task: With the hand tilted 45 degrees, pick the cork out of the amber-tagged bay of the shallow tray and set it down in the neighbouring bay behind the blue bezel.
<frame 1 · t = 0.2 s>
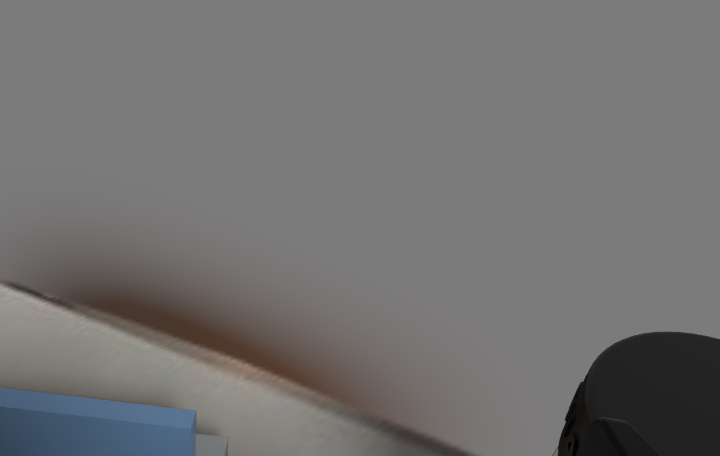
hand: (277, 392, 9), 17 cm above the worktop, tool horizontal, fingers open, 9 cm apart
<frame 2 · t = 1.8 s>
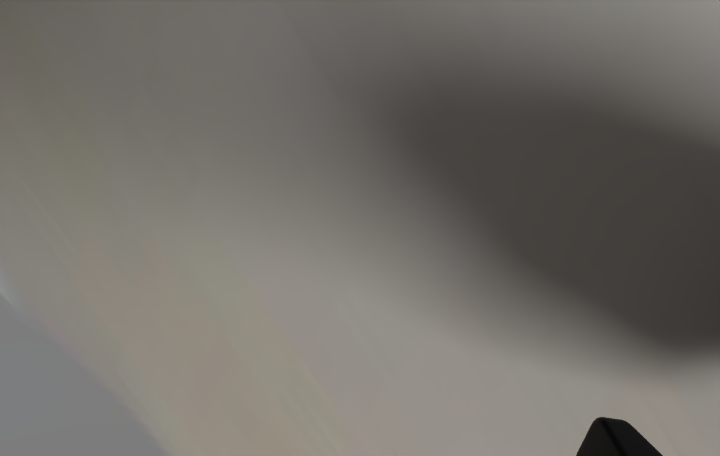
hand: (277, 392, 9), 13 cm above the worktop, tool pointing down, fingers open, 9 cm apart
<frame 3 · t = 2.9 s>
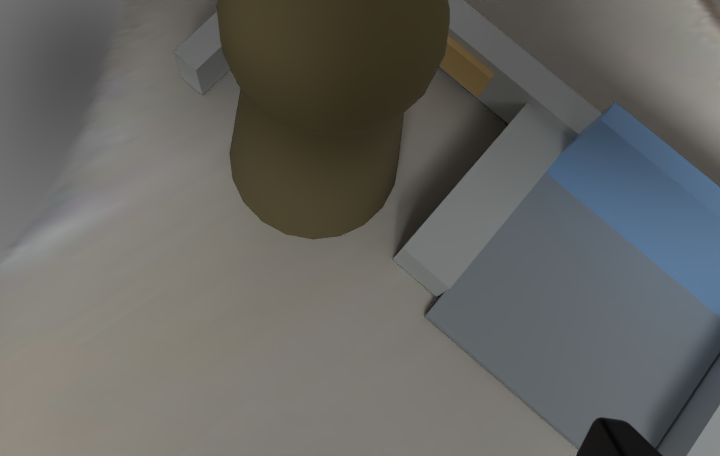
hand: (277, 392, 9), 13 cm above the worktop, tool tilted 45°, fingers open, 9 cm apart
shallow tray: (449, 236, 24), on the worktop
cork: (314, 158, 24), on the worktop
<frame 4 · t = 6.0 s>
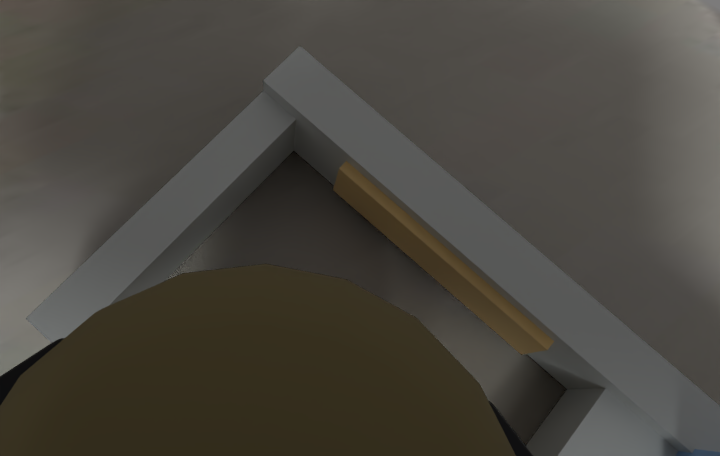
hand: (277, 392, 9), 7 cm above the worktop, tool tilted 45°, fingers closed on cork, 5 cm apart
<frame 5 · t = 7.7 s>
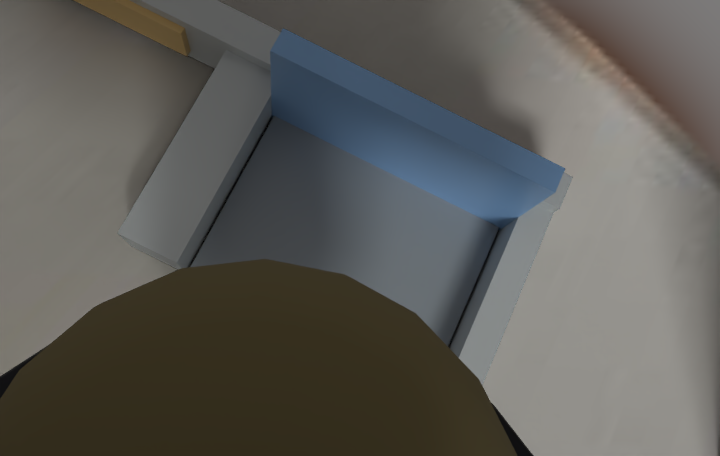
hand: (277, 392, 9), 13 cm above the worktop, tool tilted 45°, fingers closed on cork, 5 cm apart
shallow tray: (188, 207, 23), on the worktop
cork: (263, 453, 15), point 6 cm above the worktop, touching gripper
when the fingers open (8 cm above the worktop, at t = 9.7 s): cork stays where it is, resting on shallow tray.
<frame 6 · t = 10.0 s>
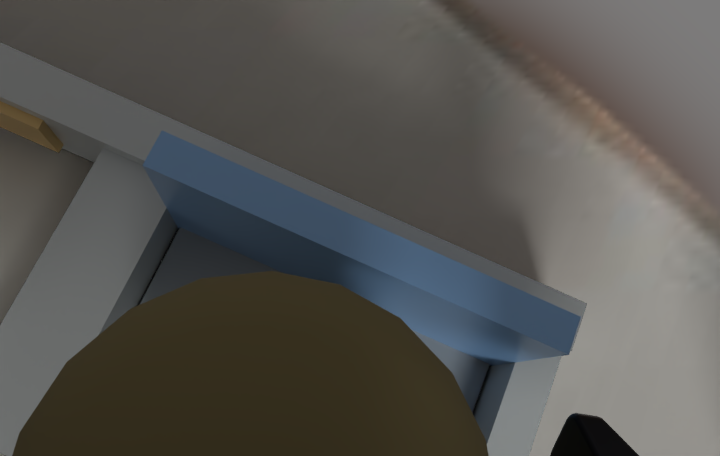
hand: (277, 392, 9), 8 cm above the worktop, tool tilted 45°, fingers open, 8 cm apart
shallow tray: (62, 362, 17), on the worktop
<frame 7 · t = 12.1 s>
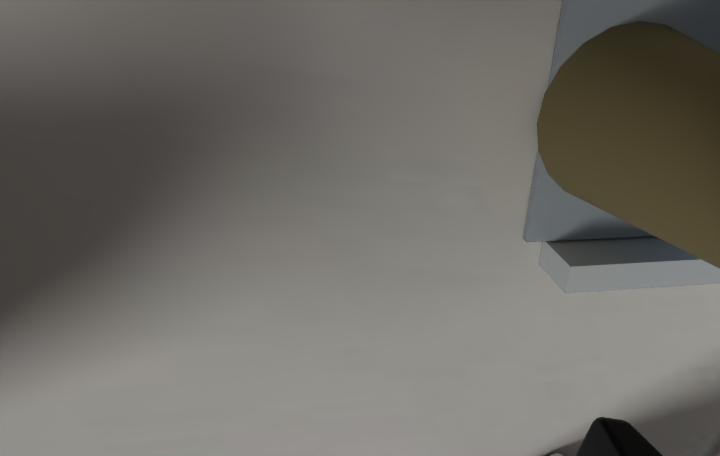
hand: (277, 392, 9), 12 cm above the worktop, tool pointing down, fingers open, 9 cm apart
cork: (620, 115, 22), resting on shallow tray
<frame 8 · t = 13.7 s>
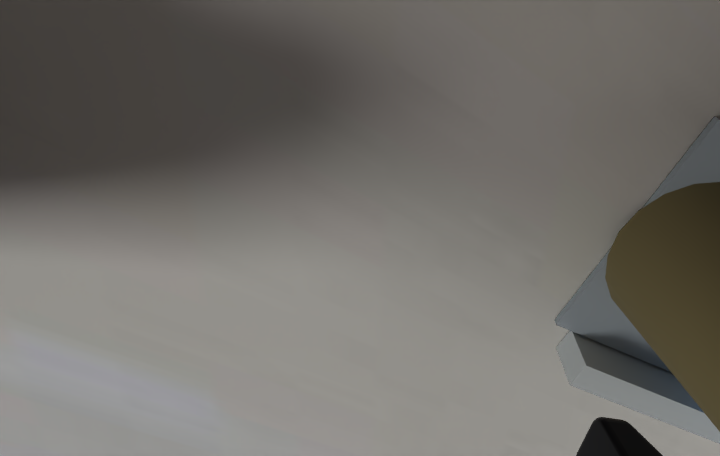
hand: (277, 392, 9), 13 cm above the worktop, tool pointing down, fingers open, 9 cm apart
cork: (692, 257, 23), resting on shallow tray
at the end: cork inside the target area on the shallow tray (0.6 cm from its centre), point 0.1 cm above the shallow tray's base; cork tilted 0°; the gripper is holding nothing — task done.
